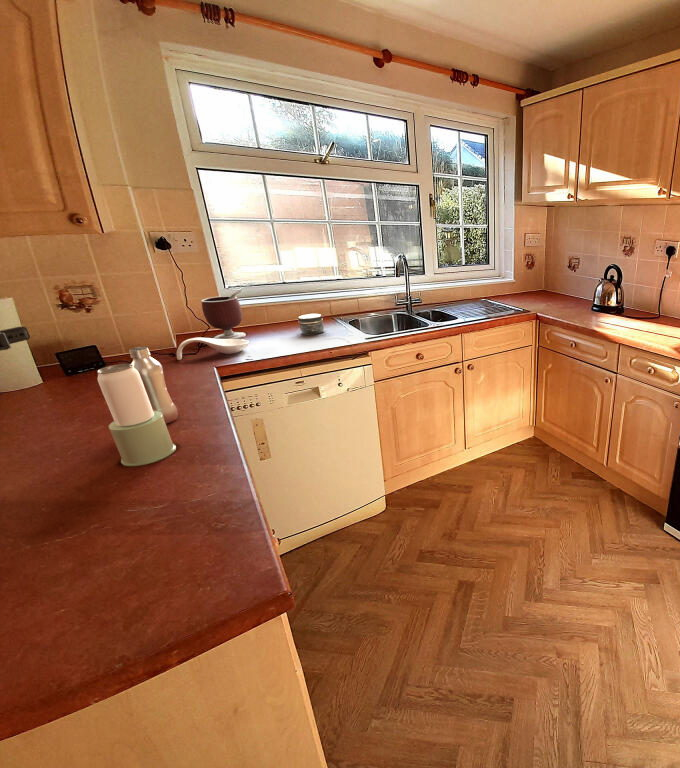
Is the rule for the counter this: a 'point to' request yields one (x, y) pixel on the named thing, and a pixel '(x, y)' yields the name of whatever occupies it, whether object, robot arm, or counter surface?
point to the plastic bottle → (153, 383)
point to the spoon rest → (217, 345)
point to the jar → (311, 324)
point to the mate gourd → (224, 315)
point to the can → (125, 395)
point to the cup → (143, 441)
